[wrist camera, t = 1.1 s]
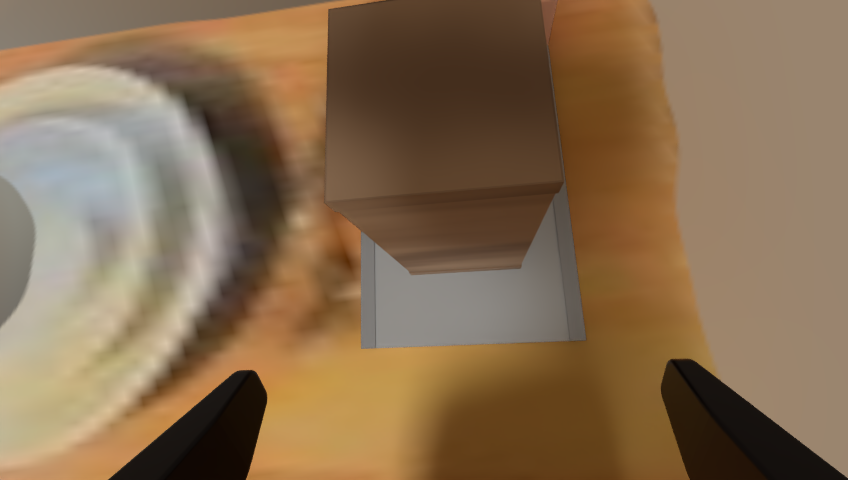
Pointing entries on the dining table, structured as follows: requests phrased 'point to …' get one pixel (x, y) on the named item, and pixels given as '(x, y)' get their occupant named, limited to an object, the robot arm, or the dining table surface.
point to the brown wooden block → (442, 129)
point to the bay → (479, 288)
